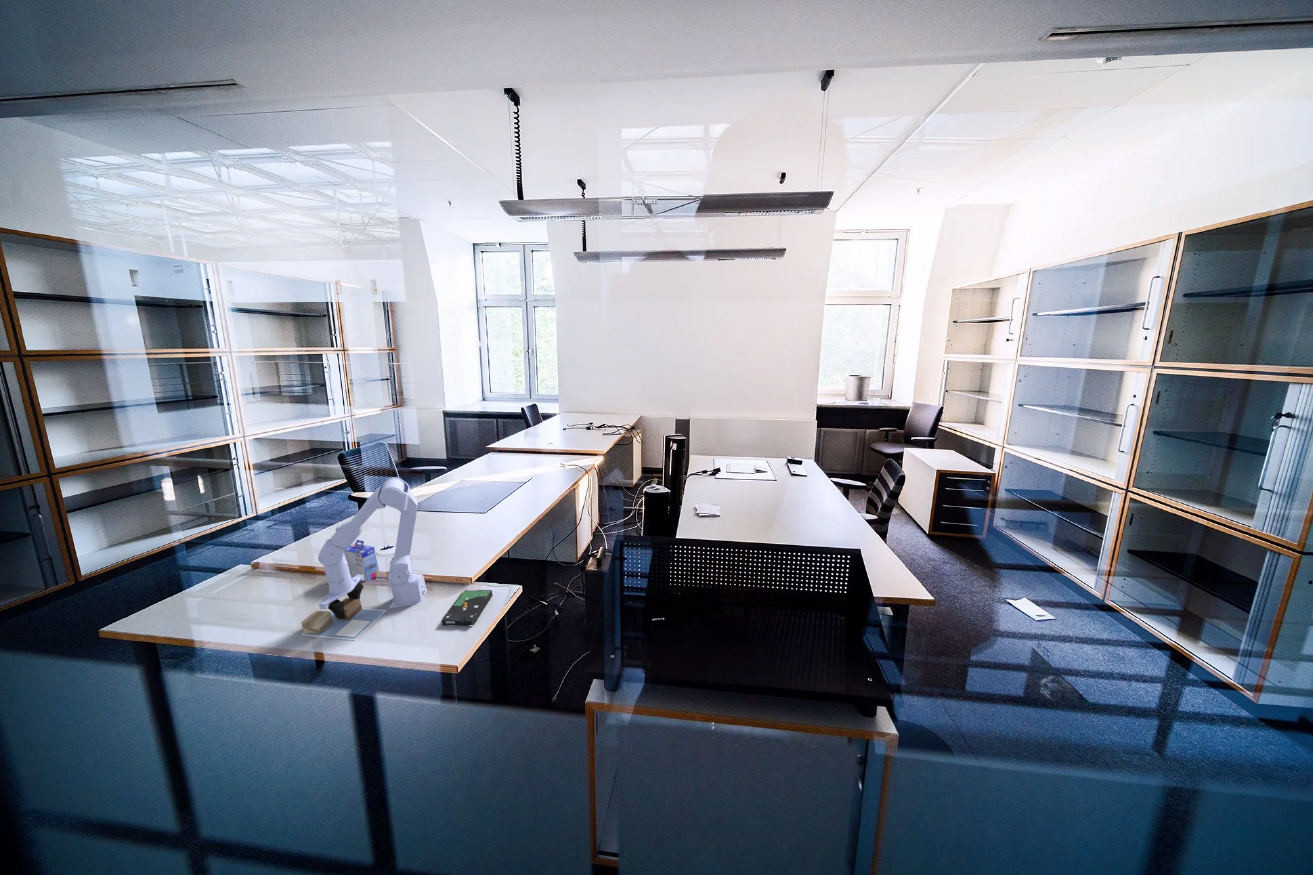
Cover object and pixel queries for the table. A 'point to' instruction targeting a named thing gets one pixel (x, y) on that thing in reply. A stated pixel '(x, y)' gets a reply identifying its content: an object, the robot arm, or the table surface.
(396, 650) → the table surface
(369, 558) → the ink cartridge box
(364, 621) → the mat
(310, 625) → the maple block
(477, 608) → the disk drive
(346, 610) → the walnut block
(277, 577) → the table surface
